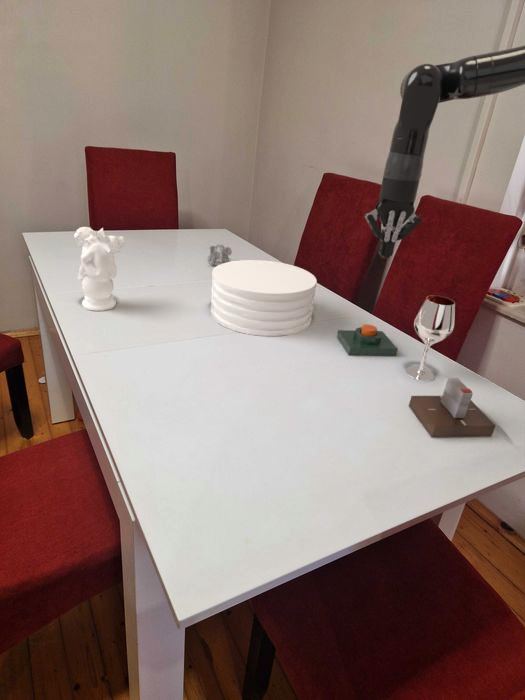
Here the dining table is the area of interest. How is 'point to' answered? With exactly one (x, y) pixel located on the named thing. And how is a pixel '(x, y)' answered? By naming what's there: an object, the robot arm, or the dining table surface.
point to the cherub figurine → (97, 267)
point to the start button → (368, 330)
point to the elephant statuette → (219, 254)
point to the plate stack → (262, 297)
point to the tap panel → (450, 419)
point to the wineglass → (432, 329)
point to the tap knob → (456, 397)
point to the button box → (366, 343)
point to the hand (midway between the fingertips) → (384, 257)
